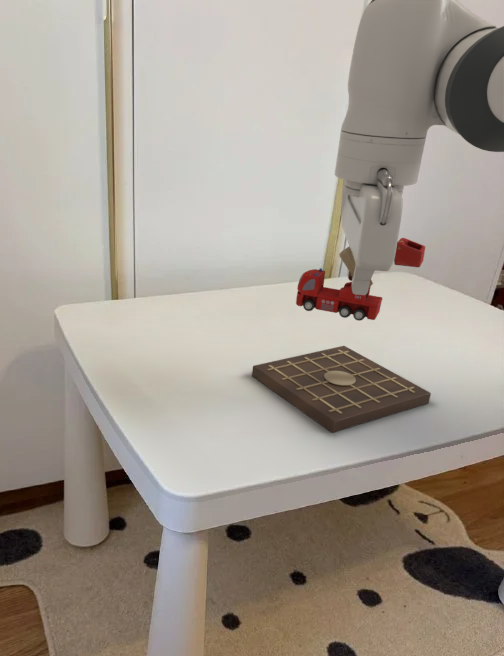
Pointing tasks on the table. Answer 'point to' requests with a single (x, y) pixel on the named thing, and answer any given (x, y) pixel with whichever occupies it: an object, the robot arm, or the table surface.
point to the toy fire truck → (344, 299)
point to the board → (340, 387)
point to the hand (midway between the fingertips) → (356, 285)
